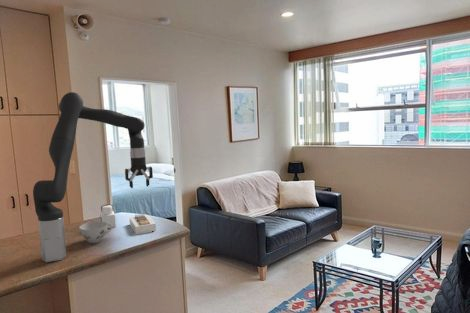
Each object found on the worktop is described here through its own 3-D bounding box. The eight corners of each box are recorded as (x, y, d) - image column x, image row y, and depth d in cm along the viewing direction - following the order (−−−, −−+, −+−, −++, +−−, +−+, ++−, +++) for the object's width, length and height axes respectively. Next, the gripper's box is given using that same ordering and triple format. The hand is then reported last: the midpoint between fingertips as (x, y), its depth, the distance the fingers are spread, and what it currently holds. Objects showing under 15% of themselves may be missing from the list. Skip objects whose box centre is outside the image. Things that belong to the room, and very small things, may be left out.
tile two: (147, 223, 177) (146, 218, 176) (138, 224, 175) (138, 219, 174) (145, 221, 181) (145, 216, 180) (137, 222, 179) (136, 217, 178)
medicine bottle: (101, 225, 183) (99, 204, 182) (114, 223, 186) (113, 202, 185) (101, 229, 177) (100, 207, 175) (115, 227, 180) (114, 205, 178)
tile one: (149, 226, 171) (149, 221, 171) (141, 227, 169) (140, 222, 169) (147, 223, 175) (147, 219, 175) (139, 225, 173) (139, 220, 173)
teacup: (86, 248, 151) (84, 231, 150) (76, 241, 160) (75, 225, 159) (118, 239, 161) (117, 223, 160) (107, 233, 170) (106, 218, 169)
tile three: (144, 220, 182) (144, 215, 182) (136, 221, 180) (136, 216, 180) (143, 218, 186) (143, 213, 186) (135, 219, 184) (134, 214, 184)
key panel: (155, 231, 172) (155, 223, 171) (136, 234, 167) (135, 226, 167) (148, 221, 189) (147, 214, 188) (129, 224, 184) (129, 217, 184)
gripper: (124, 158, 167) (127, 190, 169) (153, 156, 174) (155, 186, 176) (122, 156, 174) (124, 187, 176) (150, 154, 180) (151, 184, 182)
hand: (139, 187), depth 176 cm, fingers open, 7 cm apart
